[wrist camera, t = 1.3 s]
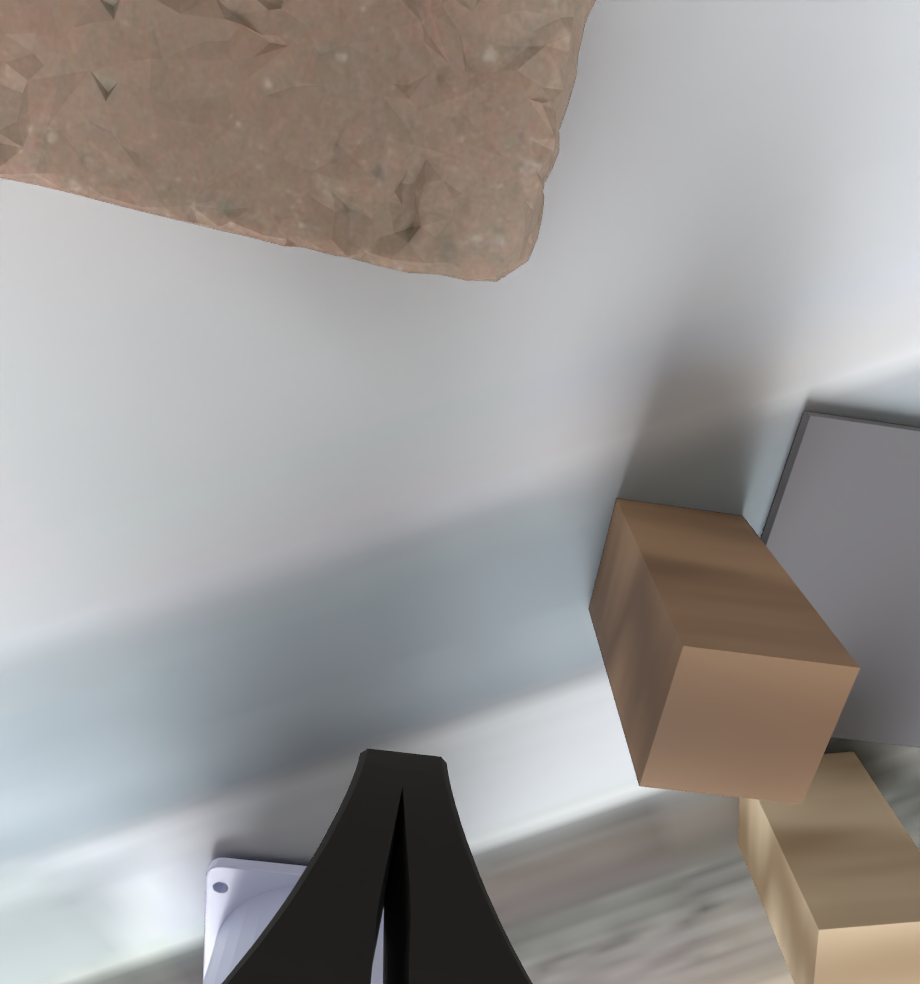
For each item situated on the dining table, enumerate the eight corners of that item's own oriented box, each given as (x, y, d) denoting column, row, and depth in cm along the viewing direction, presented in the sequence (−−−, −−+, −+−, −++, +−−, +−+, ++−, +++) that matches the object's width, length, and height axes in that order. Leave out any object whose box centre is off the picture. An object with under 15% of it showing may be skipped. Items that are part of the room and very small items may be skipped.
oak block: (844, 833, 27) (944, 1010, 21) (737, 843, 27) (809, 1021, 22) (853, 751, 25) (963, 917, 20) (740, 761, 26) (818, 930, 20)
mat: (1003, 749, 25) (1011, 758, 25) (701, 713, 25) (705, 722, 24) (1159, 462, 21) (1171, 468, 21) (803, 411, 21) (810, 415, 20)
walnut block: (707, 624, 23) (801, 804, 17) (588, 609, 23) (639, 786, 17) (742, 515, 22) (860, 668, 16) (616, 498, 22) (683, 645, 15)
